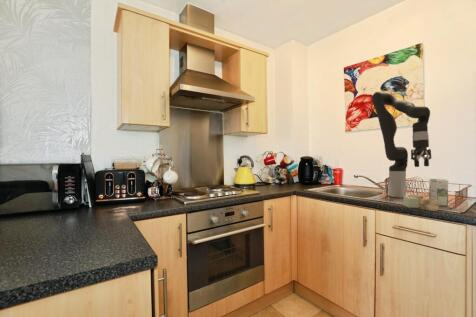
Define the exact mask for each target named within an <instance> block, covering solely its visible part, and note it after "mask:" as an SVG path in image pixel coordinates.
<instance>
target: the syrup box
mask: <svg viewBox="0 0 476 317" xmlns="http://www.w3.org/2000/svg"><path fill="white" fill-rule="evenodd" d="M428 186H429V189H428V190H429V193H428V194H429V196H428V197H429V198H428V199H433V200H438V201H439V207H448V204H449V180H448V179H445V178H430V179H429V185H428Z"/></svg>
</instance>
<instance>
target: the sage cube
mask: <svg viewBox="0 0 476 317" xmlns="http://www.w3.org/2000/svg"><path fill="white" fill-rule="evenodd" d="M402 201H403V206H404V207H406V208H420V205H419V198H416V197H408V196H406V197H403V200H402Z"/></svg>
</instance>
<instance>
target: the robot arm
mask: <svg viewBox="0 0 476 317" xmlns="http://www.w3.org/2000/svg"><path fill="white" fill-rule="evenodd" d="M371 101H372V104H373V105H372V106H373V107H374V110H375V112H376V116H377V118H378V122H379V127H380V132H381V134H382V138H383V143H384V145H383V146H384V151H385V156H386V158H387V160H389V161H390V162H392V161H394V164H392V165H390V166H389V167H388V170H389V171H388V183H387V185H388V186H387V190H388V194H387V195H388V196H389V197H390V198H391V197H392V198H399V199H400V198H401V199H402V198H403V197H407V168H408V162H409V161H408V160H409V152H408V150H407V148H406V147H403V146H396V144H395V136H396V133H397V130H398V127H397V126H398V125H397V122H396V119H395V117H394V116H393V115H392V114H391V112H390V111H389V110H388V109H387V108H386V106H391V107H394V109H395V110H396V111H398V112H399V113H403V114H405V115H406V116H407V117H409V118H410V119H417V122H414V123H413V124H412V149H411V150H410V159H411V160H412V161H413V163H414V167H415V168H418V167H420V158H422V159H423V167H429V166H430V162H429V161H430V160H431V159H432V150H431V148H429V147H430V140H429V132H428V131H429V130H428V124H429V121H430V116H431V110H430V108H429V107H428V106H416V105H415V104H414V103H413V102H410V101H407V100H404V99H401V98H398V97H397V96H395V95H393V94H392V93H390V92H388V91H376V92H374V93H373V94H372V97H371Z"/></svg>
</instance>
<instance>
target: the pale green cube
mask: <svg viewBox="0 0 476 317" xmlns="http://www.w3.org/2000/svg"><path fill="white" fill-rule="evenodd" d="M407 197H416V198H419V206H421V199H424V196H423V195H419V194H408V195H407Z"/></svg>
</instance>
